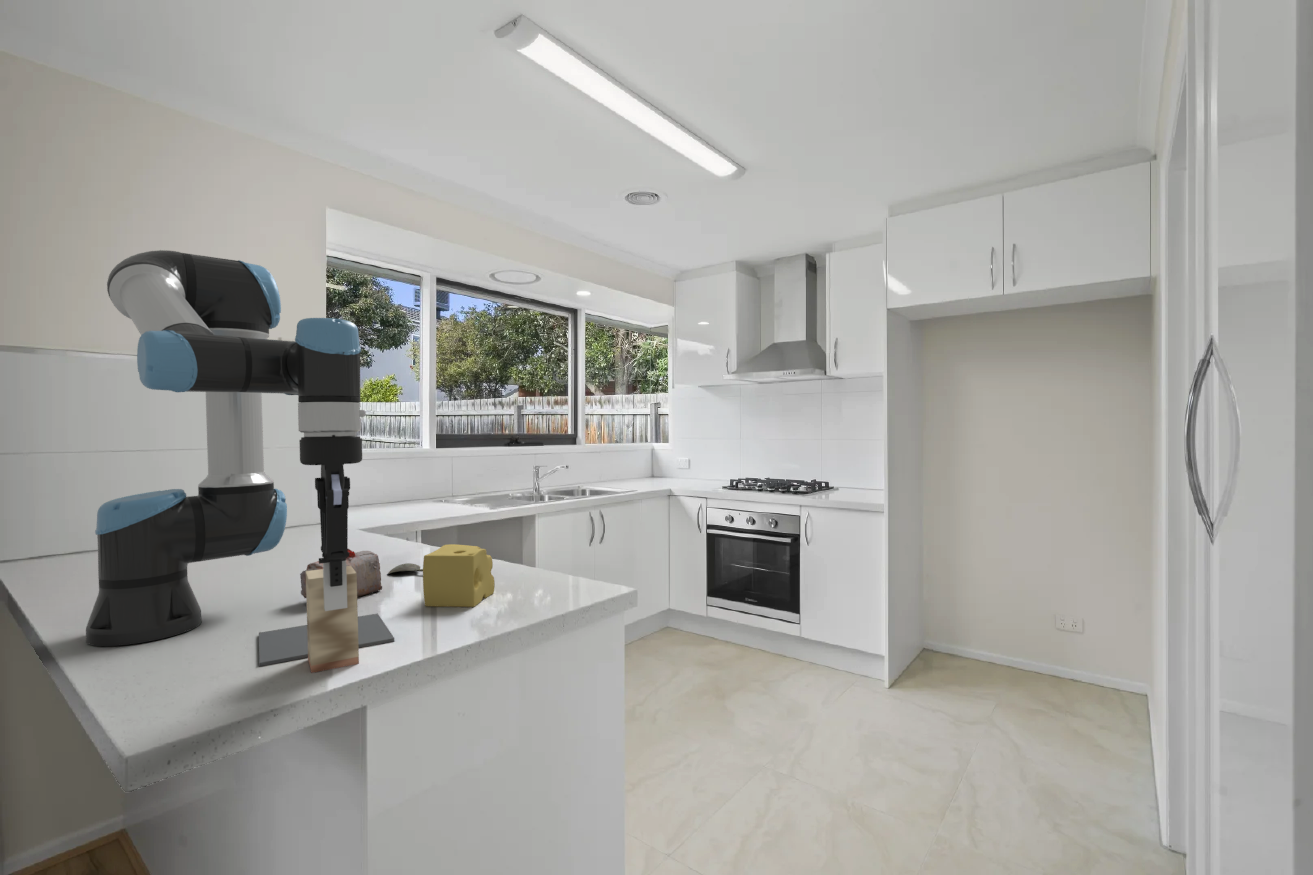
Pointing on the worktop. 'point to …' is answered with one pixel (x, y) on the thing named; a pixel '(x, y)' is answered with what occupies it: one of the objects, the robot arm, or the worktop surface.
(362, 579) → the food item
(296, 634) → the mat
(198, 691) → the worktop surface
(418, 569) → the soupspoon
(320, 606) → the block
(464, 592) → the cheese
